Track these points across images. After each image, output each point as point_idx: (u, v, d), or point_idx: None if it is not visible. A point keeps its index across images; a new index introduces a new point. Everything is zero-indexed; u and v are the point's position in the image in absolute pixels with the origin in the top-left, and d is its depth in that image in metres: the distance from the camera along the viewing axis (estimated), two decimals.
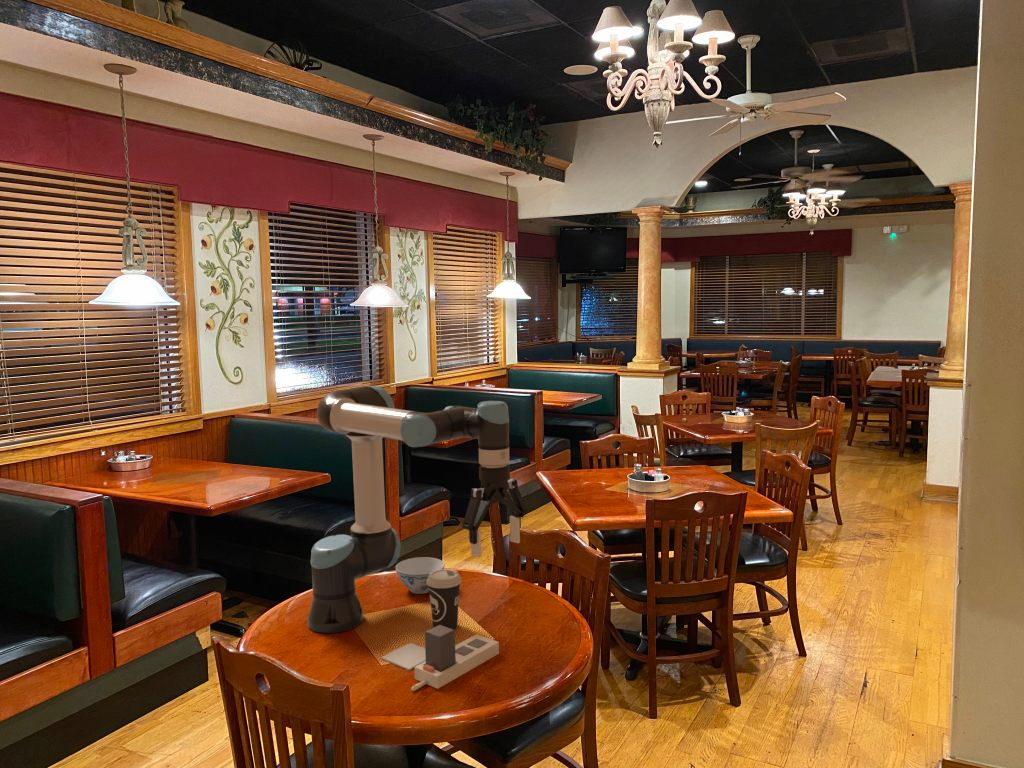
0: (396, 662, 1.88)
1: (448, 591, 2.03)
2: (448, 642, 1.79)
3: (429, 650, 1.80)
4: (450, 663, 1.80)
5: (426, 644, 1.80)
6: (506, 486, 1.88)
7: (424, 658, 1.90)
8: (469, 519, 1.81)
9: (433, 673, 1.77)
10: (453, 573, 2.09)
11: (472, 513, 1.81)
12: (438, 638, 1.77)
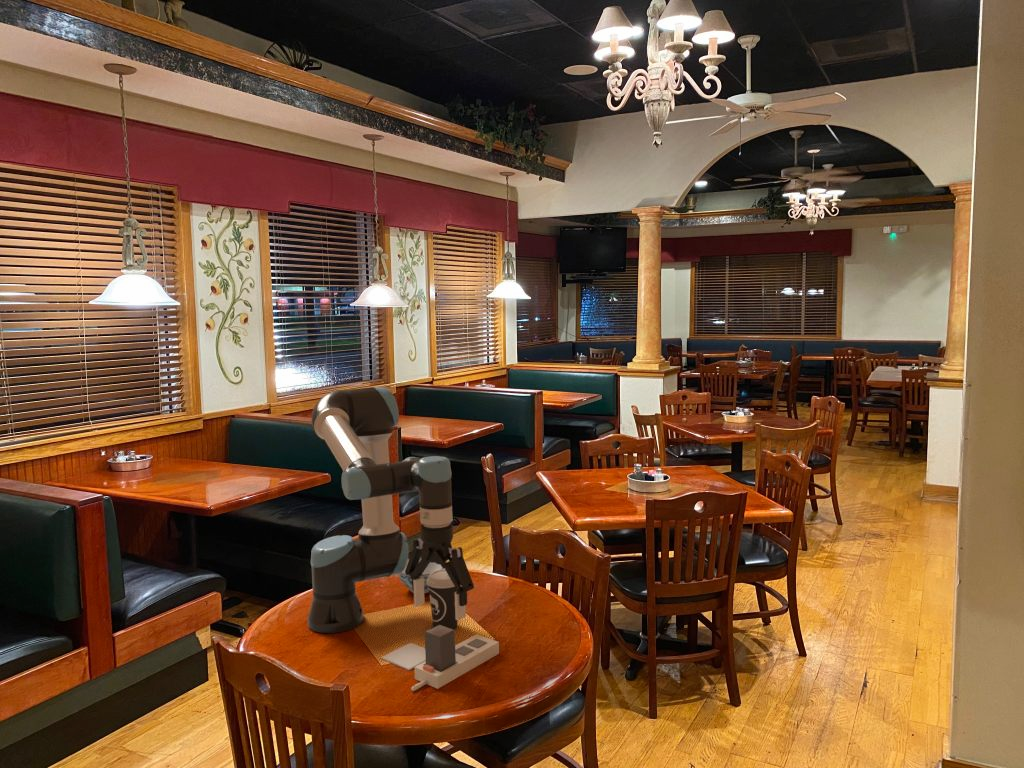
0: (396, 662, 1.88)
1: (448, 591, 2.03)
2: (448, 642, 1.79)
3: (429, 650, 1.80)
4: (450, 663, 1.80)
5: (426, 644, 1.80)
6: (443, 551, 1.75)
7: (424, 658, 1.90)
8: None
9: (433, 673, 1.77)
10: None
11: None
12: (438, 638, 1.77)
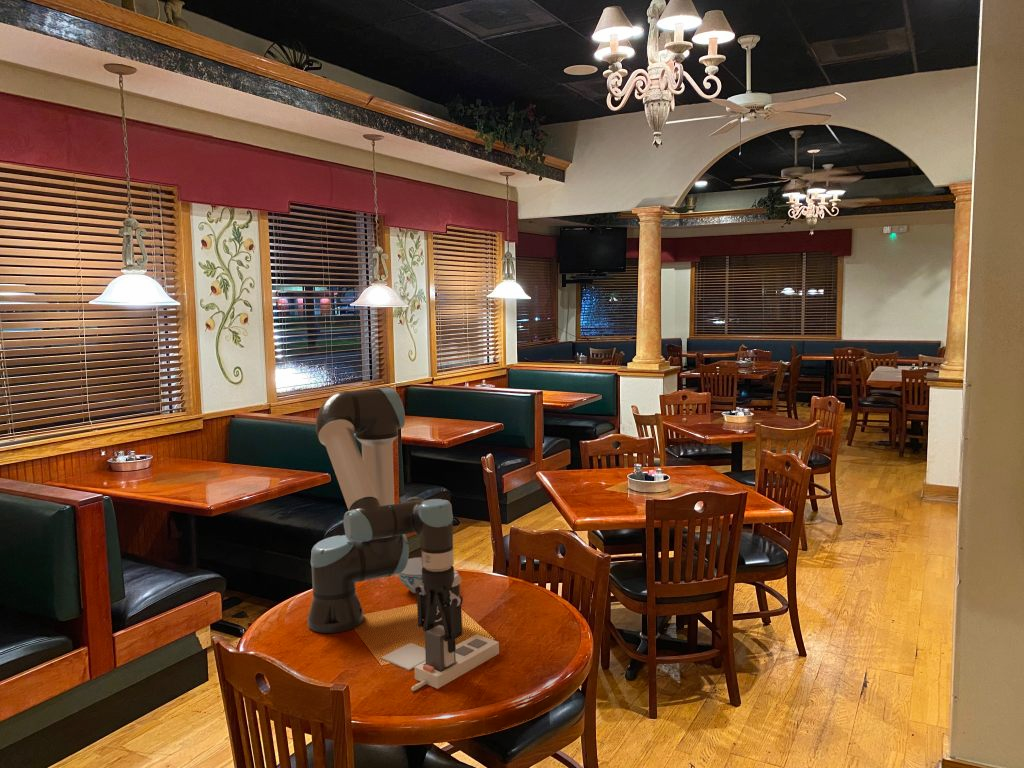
0: (396, 662, 1.88)
1: None
2: None
3: (429, 650, 1.80)
4: None
5: (426, 644, 1.80)
6: (444, 594, 1.77)
7: (424, 658, 1.90)
8: None
9: (433, 673, 1.77)
10: None
11: None
12: (438, 638, 1.77)
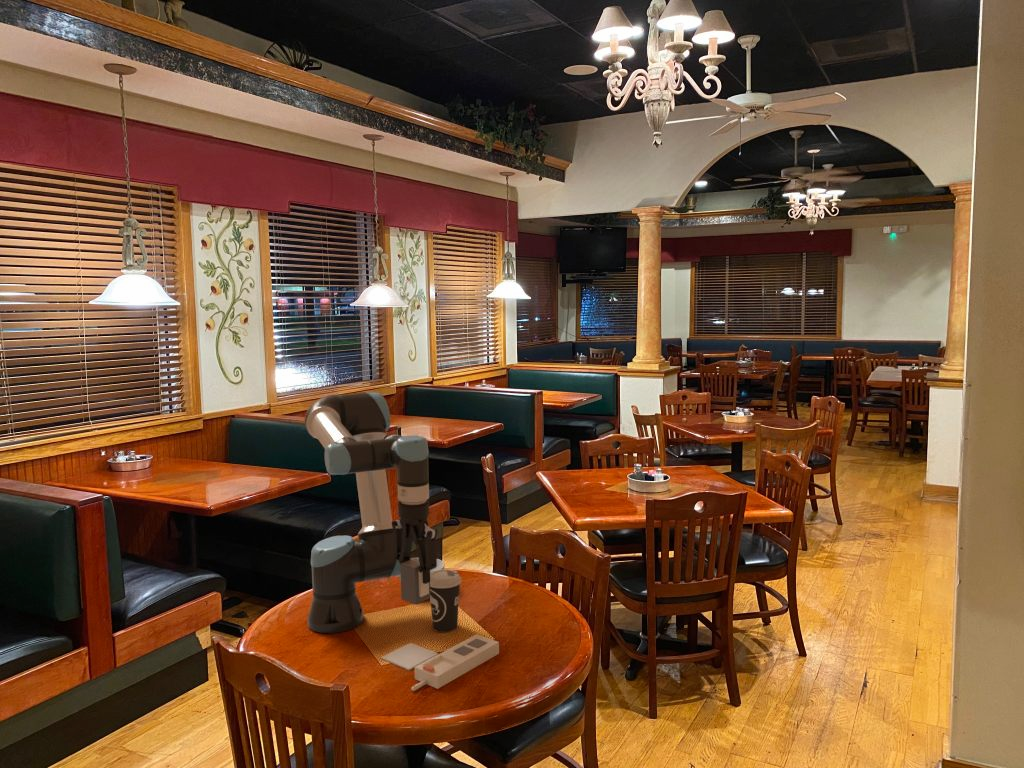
0: (396, 662, 1.88)
1: (448, 591, 2.03)
2: None
3: (404, 581, 1.86)
4: None
5: (402, 576, 1.86)
6: (419, 527, 1.82)
7: (424, 658, 1.90)
8: None
9: (433, 673, 1.77)
10: (453, 573, 2.09)
11: None
12: (413, 569, 1.83)
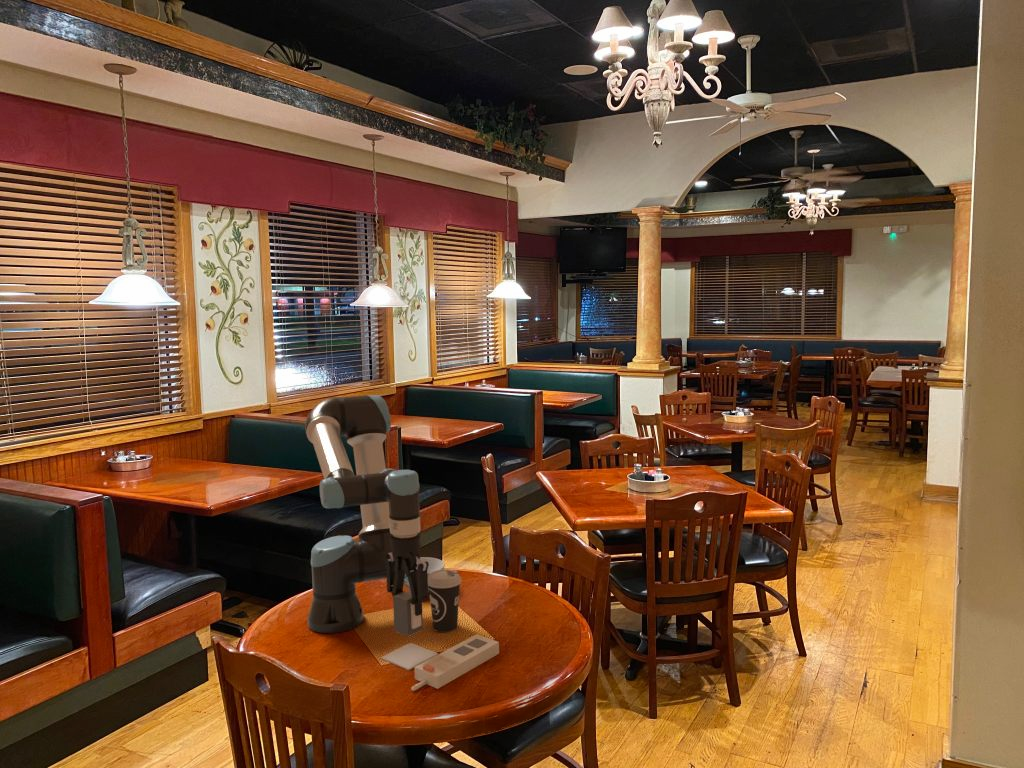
0: (396, 662, 1.88)
1: (448, 591, 2.03)
2: None
3: (397, 613, 1.89)
4: None
5: (394, 608, 1.89)
6: (410, 559, 1.86)
7: (424, 658, 1.90)
8: None
9: (433, 673, 1.77)
10: (453, 573, 2.09)
11: None
12: (405, 601, 1.86)
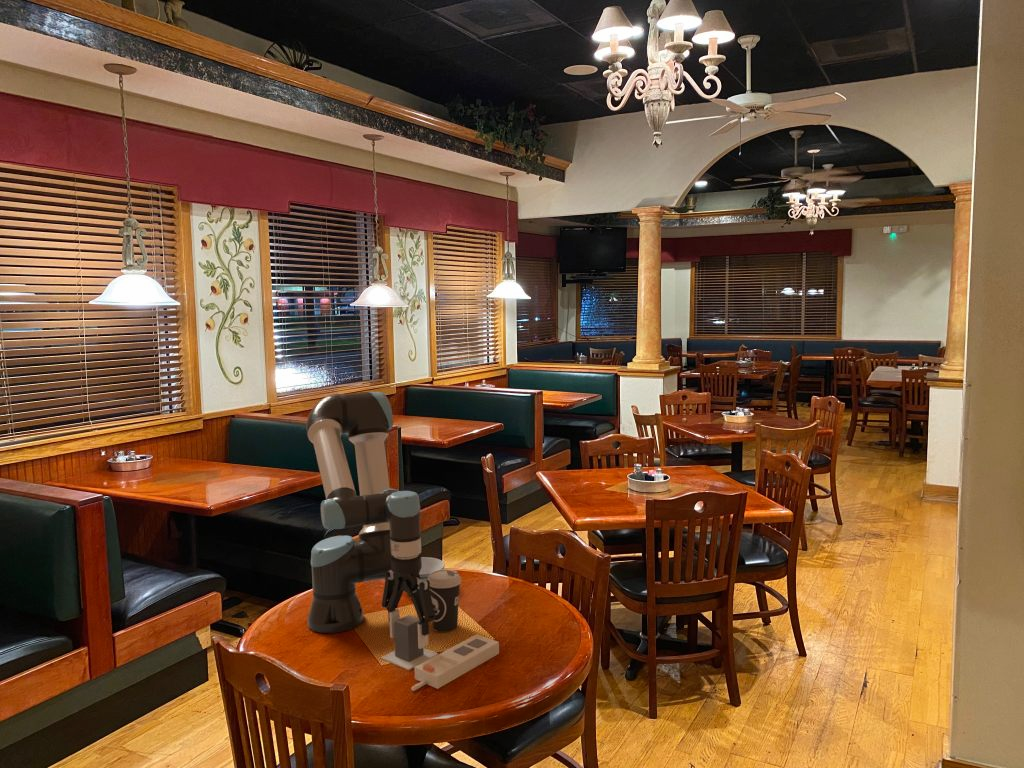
0: (396, 662, 1.88)
1: (448, 591, 2.03)
2: (416, 631, 1.89)
3: (398, 639, 1.90)
4: (418, 651, 1.90)
5: (395, 633, 1.90)
6: (411, 581, 1.86)
7: (424, 658, 1.90)
8: None
9: (433, 673, 1.77)
10: (453, 573, 2.09)
11: None
12: (406, 627, 1.87)
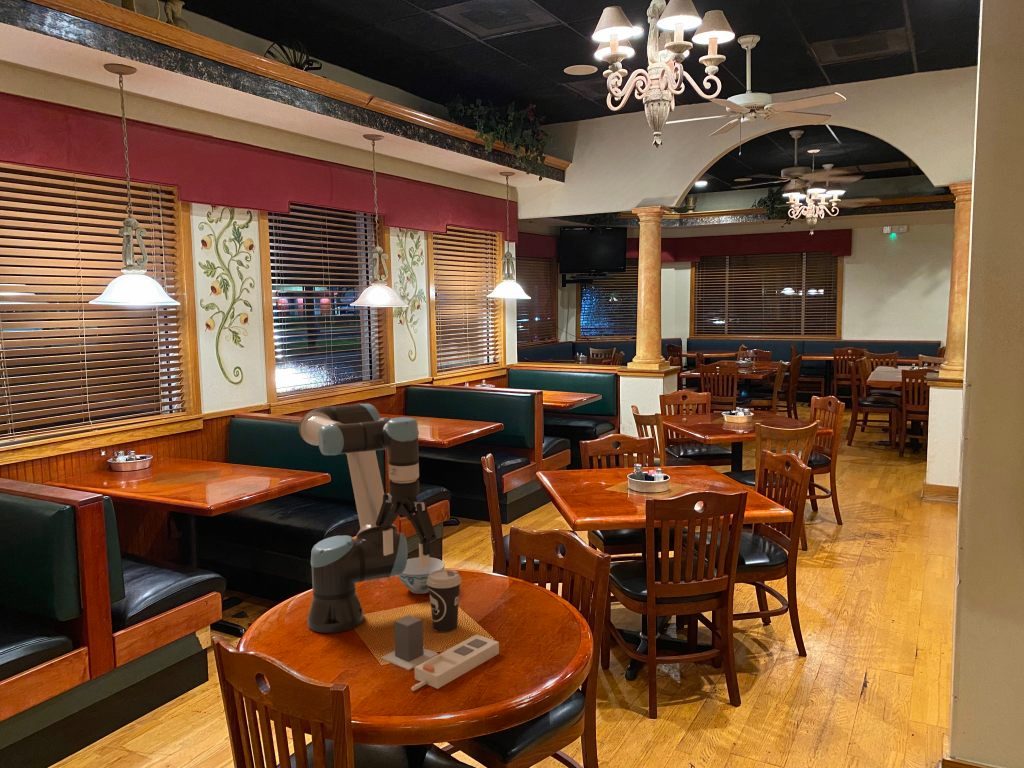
0: (396, 662, 1.88)
1: (448, 591, 2.03)
2: (416, 631, 1.89)
3: (398, 639, 1.90)
4: (418, 651, 1.90)
5: (395, 633, 1.90)
6: (409, 504, 1.90)
7: (424, 658, 1.90)
8: None
9: (433, 673, 1.77)
10: (453, 573, 2.09)
11: None
12: (406, 627, 1.87)
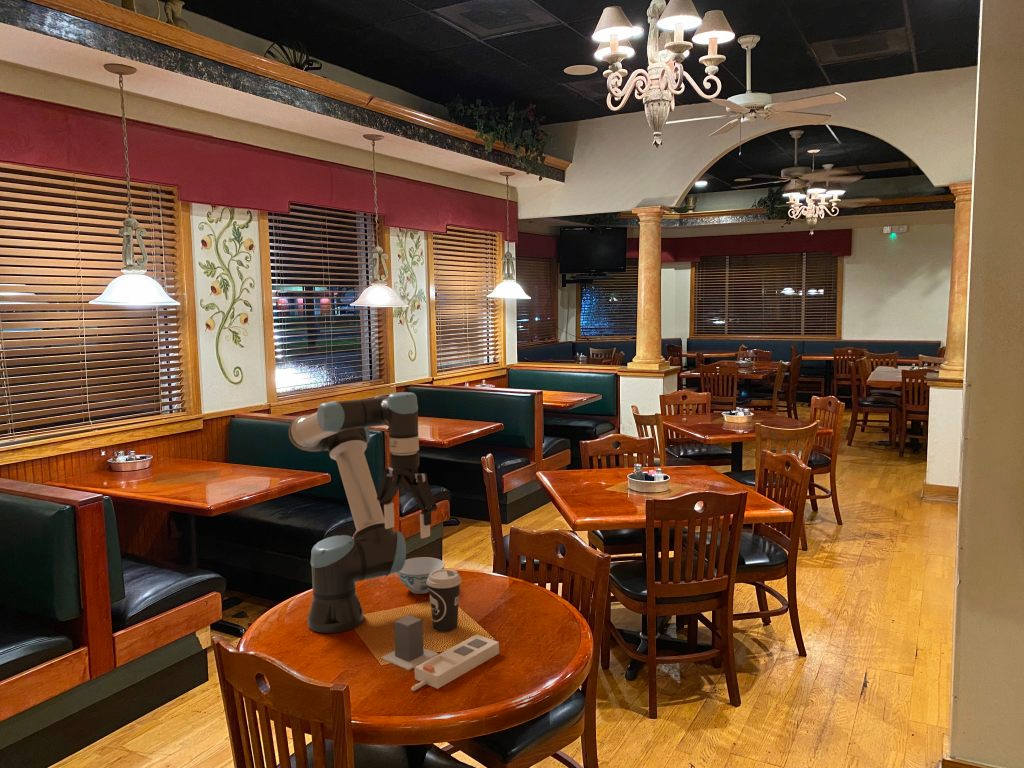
0: (396, 662, 1.88)
1: (448, 591, 2.03)
2: (416, 631, 1.89)
3: (398, 639, 1.90)
4: (418, 651, 1.90)
5: (395, 633, 1.90)
6: (409, 476, 1.95)
7: (424, 658, 1.90)
8: None
9: (433, 673, 1.77)
10: (453, 573, 2.09)
11: None
12: (406, 627, 1.87)
